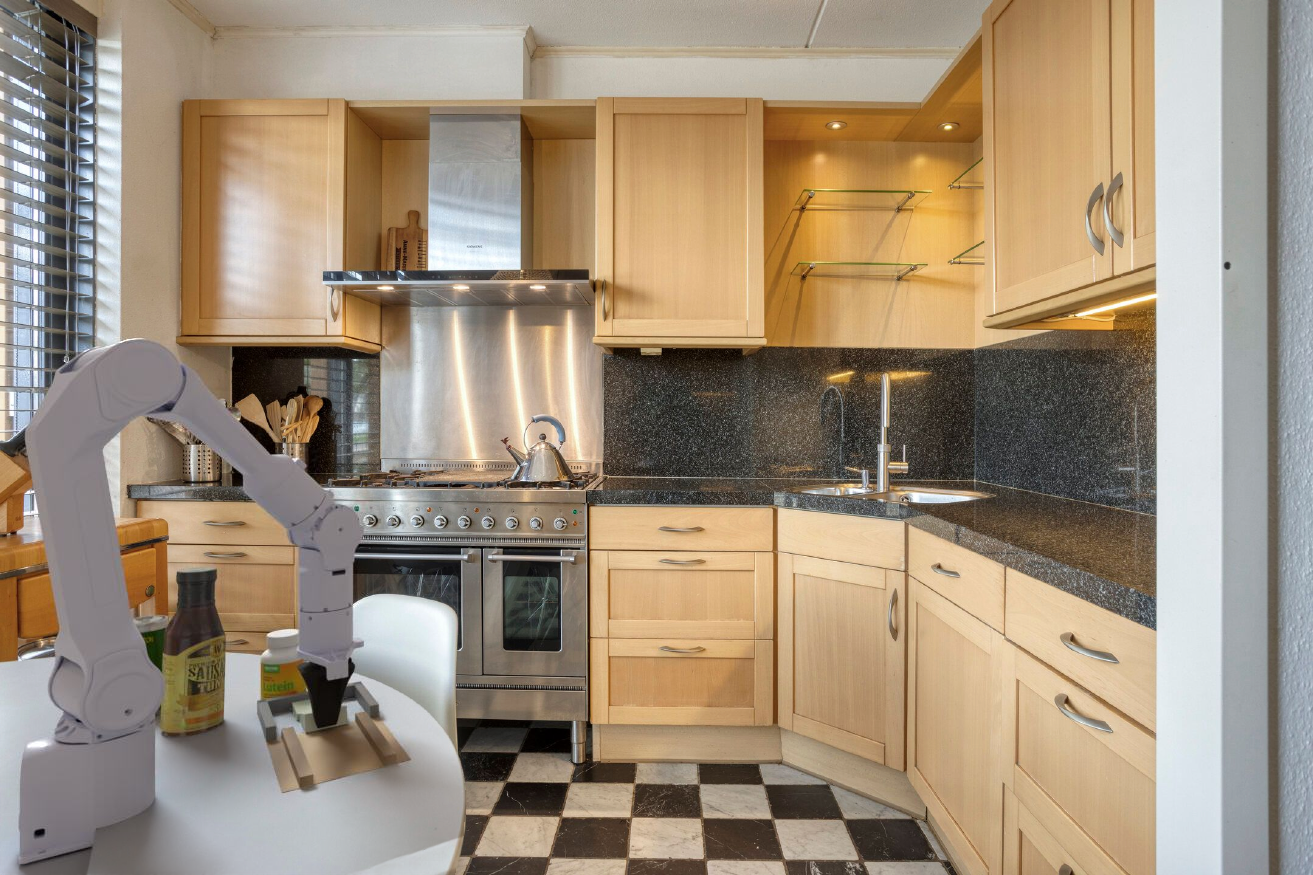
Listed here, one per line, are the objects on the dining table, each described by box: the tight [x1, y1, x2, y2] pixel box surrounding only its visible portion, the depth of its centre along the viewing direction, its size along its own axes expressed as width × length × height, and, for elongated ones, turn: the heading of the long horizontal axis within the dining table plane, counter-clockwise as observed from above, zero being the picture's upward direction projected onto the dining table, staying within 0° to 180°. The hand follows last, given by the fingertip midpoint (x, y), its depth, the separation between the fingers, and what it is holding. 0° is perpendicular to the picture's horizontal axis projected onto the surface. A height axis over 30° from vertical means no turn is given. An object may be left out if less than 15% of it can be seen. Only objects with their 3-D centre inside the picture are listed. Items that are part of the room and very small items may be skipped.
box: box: [256, 680, 380, 742], centre depth 85 cm, size 12×10×3 cm
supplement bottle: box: [259, 628, 308, 700], centre depth 92 cm, size 5×5×10 cm
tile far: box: [291, 699, 312, 722], centre depth 87 cm, size 4×4×2 cm
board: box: [265, 710, 412, 794], centre depth 75 cm, size 12×14×2 cm
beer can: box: [132, 614, 170, 717], centre depth 90 cm, size 5×5×12 cm
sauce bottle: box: [159, 566, 227, 738], centre depth 82 cm, size 7×6×20 cm
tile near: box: [298, 705, 349, 733], centre depth 83 cm, size 4×4×2 cm
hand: (326, 724), depth 80 cm, fingers closed
